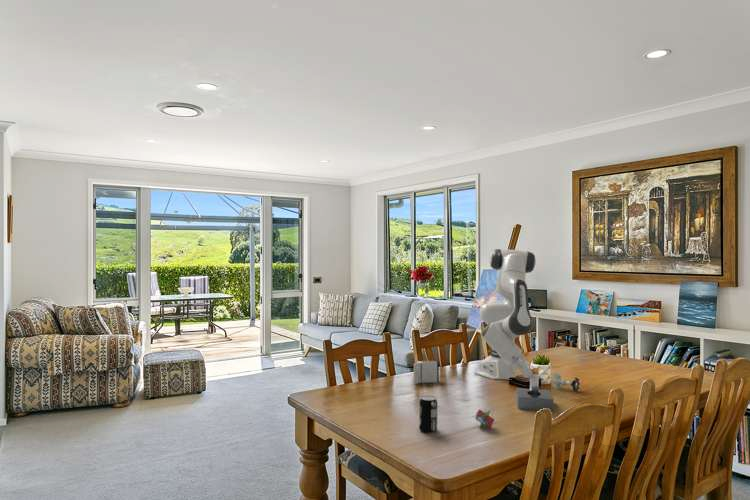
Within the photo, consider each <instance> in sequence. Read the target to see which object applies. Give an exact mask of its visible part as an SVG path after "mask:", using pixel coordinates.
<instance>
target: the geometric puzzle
mask: <svg viewBox="0 0 750 500" xmlns="http://www.w3.org/2000/svg"><path fill="white" fill-rule="evenodd" d="M491 411H492V410H490V409H489V410H488V411H485V412H484V410H483V409H479V410H477V411H476V413H475V420H476V421H477V422H479V423H480V425H477V427H478V429H482V428H483V427H486V428H487V427H488V428H487V429H488V430H491V429H492V427H493V424H494V422H495V419H494V417H493V414H492V417H491V416H489V415H490V412H491Z"/></svg>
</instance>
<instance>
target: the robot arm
mask: <svg viewBox="0 0 750 500" xmlns="http://www.w3.org/2000/svg"><path fill="white" fill-rule="evenodd" d="M488 261H489V265H490V267H491V268H492V269H493V270H495V271H498V273H497V279H496V287H495V291H496V293H497V295H499V296H500V297H501V298H503V299H504V301H503V302H501V301H500V302H486V303H484V304H482V305H481V307H480V309H479V316H480V319H481V320H482V322H483V323H485V324H486V325H485V327H484V328H483V330H482V331H481V336H482V339H483V340H484V341H485V342H486V343H487V345H488V346H489V347H490V349H489V350H488V353H490V354H489V355H488V356H487V357H486V358H484V359H483V360H481V361H480V363H479V366H478V369H476V370H475V371H474V374H476V375H477V376H482V377H486V378H488V379H491V380H510V379H509V378H510V377H515V376H518V374H517V370H518V372H520V374H521V375H522V376H523V377H524V378H526V379H528V378H529V379H530V378H531V379H532V380H533V381H535V382H536V381H537V380H538V379H537V377H536V376H535V375H534V374H533V373H532V370H531V368H532V367H531V366H530V363H529V362H528V360H527V359H526V358H525V356H524V355H523V354H522V353H523V350H522V348H520V347H519V346H518V344H516V341H515V339H516V338H519V337H521V336H523V335H525V334H528V333H530V332H531V330H532V329H533V319H532V316H531V313H530V305H529V290H528V284H527V283H526V274H527V273H532V272H533V271H534V269H535V267H536V264H537V260H536V256H535V254H534V253H533V252H531V251H528V250H527V251H524V250H519V249H500V248H495V249H493V250H492V252H491V253H490V255H489V258H488Z"/></svg>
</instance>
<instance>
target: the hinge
mask: <svg viewBox="0 0 750 500" xmlns="http://www.w3.org/2000/svg"><path fill="white" fill-rule="evenodd" d="M439 366H440V362H439V361H437V360H422V361H421V360H420V361H419V360H417V361H416V363H414V362H413V385H417V384H421V383H423V384H424V383H439V382H440V379H439V378H440V372H439V371H440V370H439V369H440V367H439Z"/></svg>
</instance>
